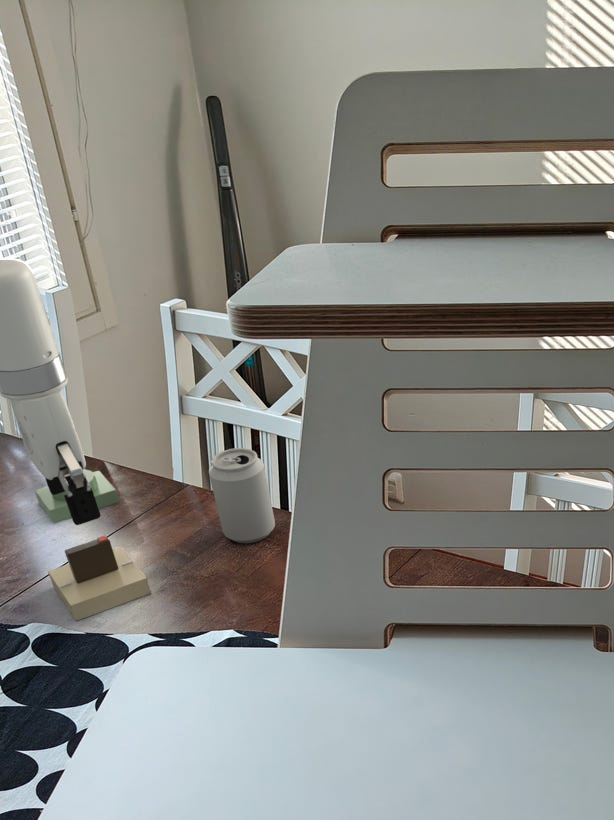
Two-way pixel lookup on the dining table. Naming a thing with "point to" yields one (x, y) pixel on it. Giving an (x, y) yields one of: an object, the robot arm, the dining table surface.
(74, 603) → the plate
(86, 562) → the thumbturn
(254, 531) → the can
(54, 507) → the button base
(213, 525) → the dining table surface
